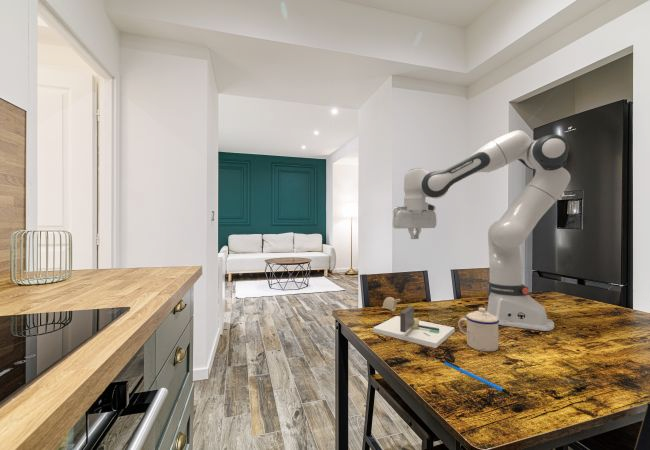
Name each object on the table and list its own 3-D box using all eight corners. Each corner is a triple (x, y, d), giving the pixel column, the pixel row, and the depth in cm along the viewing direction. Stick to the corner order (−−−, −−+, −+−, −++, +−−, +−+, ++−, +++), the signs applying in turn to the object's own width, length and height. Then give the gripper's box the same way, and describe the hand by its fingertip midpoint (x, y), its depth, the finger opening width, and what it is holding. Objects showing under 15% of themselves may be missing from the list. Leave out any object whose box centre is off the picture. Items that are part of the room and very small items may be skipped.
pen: (441, 362, 85) (441, 357, 85) (512, 395, 68) (512, 390, 68) (439, 362, 84) (439, 358, 84) (509, 396, 68) (509, 391, 68)
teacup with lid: (504, 346, 94) (504, 308, 94) (491, 355, 88) (491, 314, 88) (465, 335, 103) (465, 301, 103) (451, 342, 98) (451, 306, 98)
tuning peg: (410, 324, 110) (410, 303, 110) (440, 329, 104) (440, 307, 104) (397, 335, 98) (397, 312, 98) (430, 342, 93) (430, 317, 93)
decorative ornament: (387, 306, 140) (386, 295, 140) (401, 310, 133) (401, 298, 133) (381, 308, 138) (380, 296, 138) (395, 312, 131) (395, 299, 131)
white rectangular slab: (454, 331, 107) (454, 327, 107) (435, 348, 93) (435, 343, 93) (396, 319, 121) (396, 315, 121) (372, 332, 107) (372, 327, 107)
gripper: (398, 206, 125) (398, 240, 125) (438, 206, 132) (438, 238, 132) (389, 206, 131) (389, 239, 131) (429, 207, 138) (429, 238, 138)
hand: (414, 239), depth 132 cm, fingers closed
